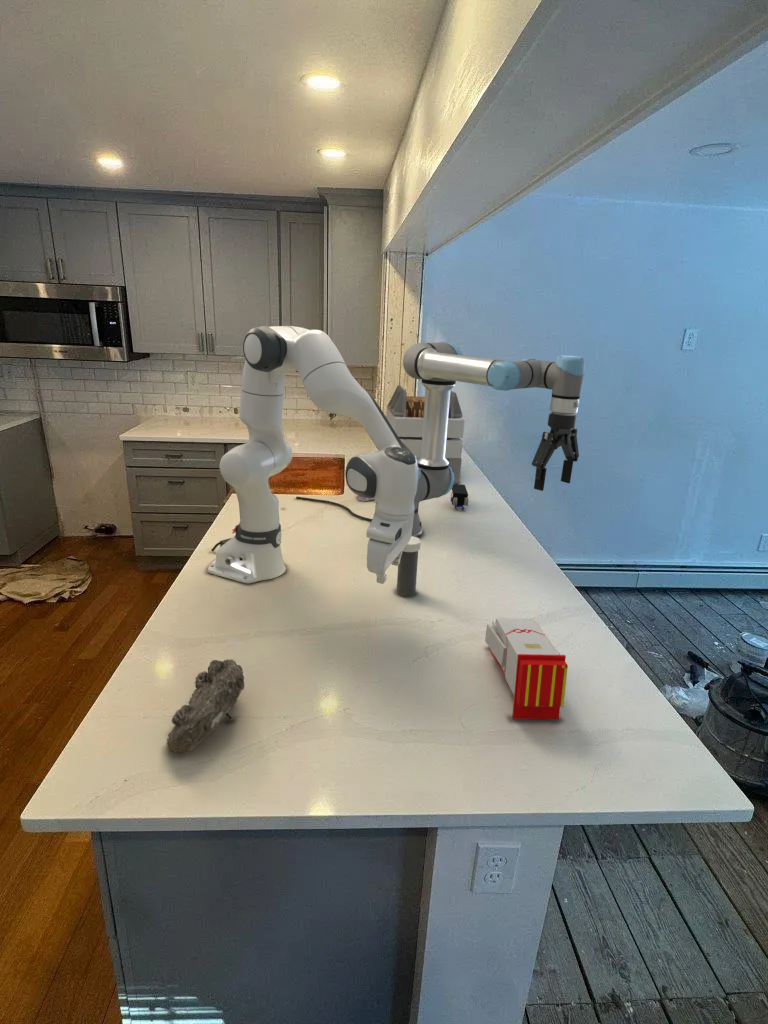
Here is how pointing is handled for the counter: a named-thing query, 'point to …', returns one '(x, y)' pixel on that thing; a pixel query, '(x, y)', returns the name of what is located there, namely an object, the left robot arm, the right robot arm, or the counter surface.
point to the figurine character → (459, 496)
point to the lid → (412, 545)
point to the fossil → (206, 705)
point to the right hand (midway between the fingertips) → (552, 485)
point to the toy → (529, 667)
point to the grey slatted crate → (409, 426)
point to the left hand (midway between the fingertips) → (388, 572)
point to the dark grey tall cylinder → (407, 574)
